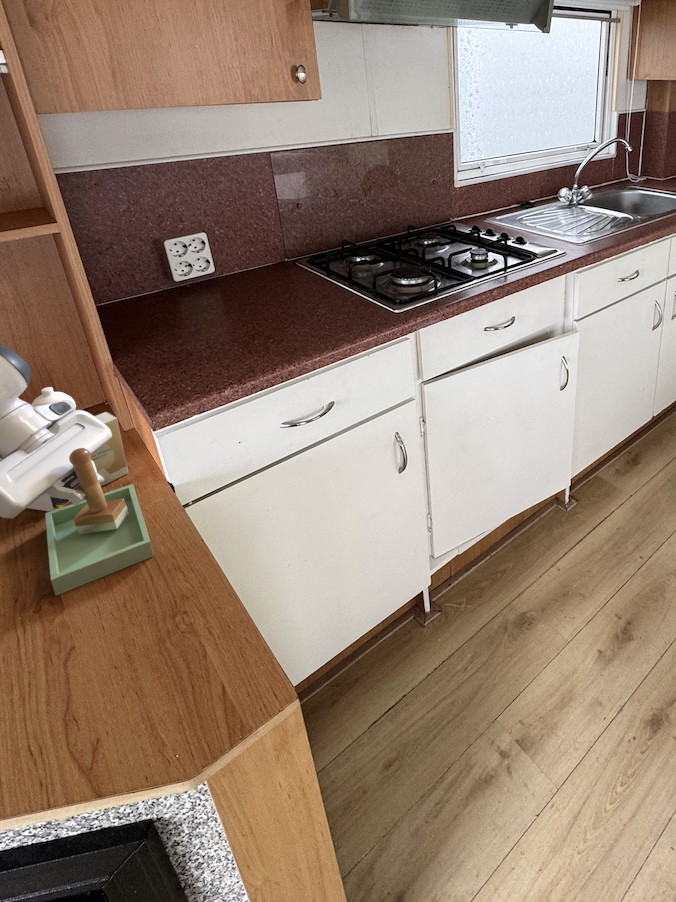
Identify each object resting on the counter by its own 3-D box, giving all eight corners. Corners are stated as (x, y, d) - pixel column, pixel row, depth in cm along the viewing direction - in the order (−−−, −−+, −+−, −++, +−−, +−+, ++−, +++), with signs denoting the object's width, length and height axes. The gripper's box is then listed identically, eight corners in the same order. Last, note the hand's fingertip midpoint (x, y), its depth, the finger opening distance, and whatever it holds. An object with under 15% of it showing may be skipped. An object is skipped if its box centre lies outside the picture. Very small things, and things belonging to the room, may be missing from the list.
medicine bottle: (55, 513, 100) (38, 455, 96) (20, 508, 101) (1, 449, 97) (90, 487, 107) (75, 431, 103) (56, 482, 108) (40, 427, 104)
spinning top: (61, 452, 117) (46, 399, 113) (28, 448, 118) (12, 396, 114) (92, 431, 124) (79, 381, 120) (60, 427, 125) (47, 378, 121)
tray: (153, 556, 91) (150, 541, 90) (55, 596, 84) (50, 580, 83) (136, 497, 104) (132, 483, 103) (49, 527, 97) (45, 513, 96)
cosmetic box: (94, 490, 106) (79, 433, 102) (82, 482, 108) (67, 425, 104) (131, 472, 111) (118, 417, 107) (119, 464, 113) (105, 410, 109)
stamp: (78, 534, 94) (49, 459, 89) (92, 517, 98) (64, 444, 93) (117, 529, 94) (90, 454, 90) (129, 512, 98) (104, 440, 93)
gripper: (-35, 466, 81) (49, 527, 83) (77, 394, 100) (142, 445, 103) (-55, 490, 82) (28, 549, 85) (58, 415, 102) (123, 465, 104)
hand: (91, 492), depth 94 cm, fingers closed on stamp, 2 cm apart
